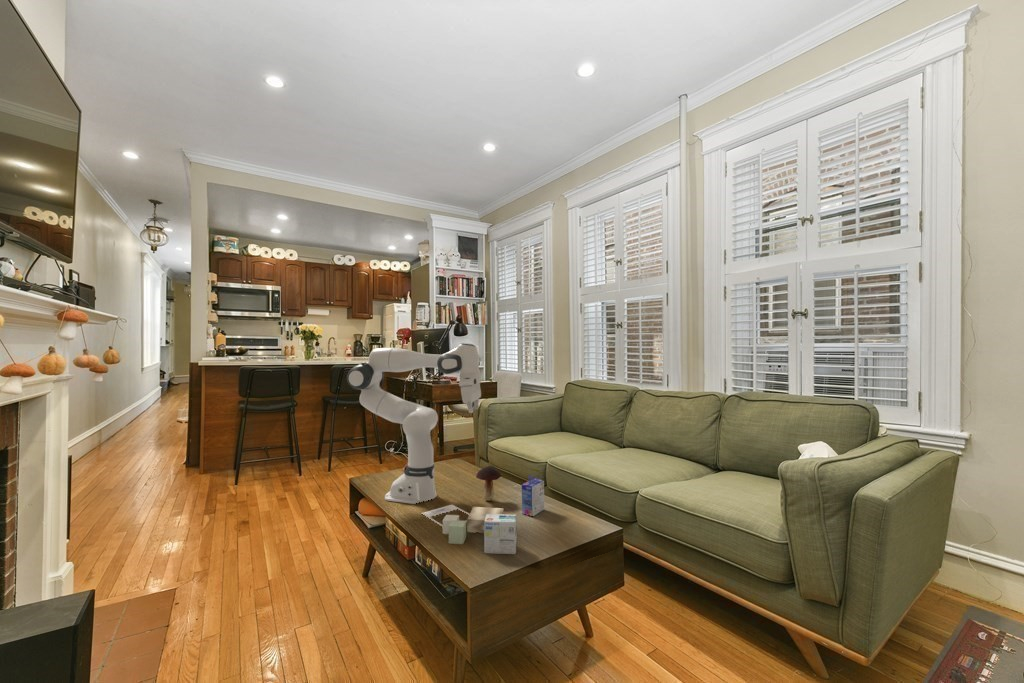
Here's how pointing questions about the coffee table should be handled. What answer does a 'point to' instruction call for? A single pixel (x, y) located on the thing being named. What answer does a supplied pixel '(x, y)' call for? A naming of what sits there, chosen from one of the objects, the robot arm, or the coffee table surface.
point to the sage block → (457, 532)
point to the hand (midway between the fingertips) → (473, 410)
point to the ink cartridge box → (532, 496)
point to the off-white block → (448, 522)
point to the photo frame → (440, 511)
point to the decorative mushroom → (488, 480)
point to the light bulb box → (500, 533)
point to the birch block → (480, 518)
